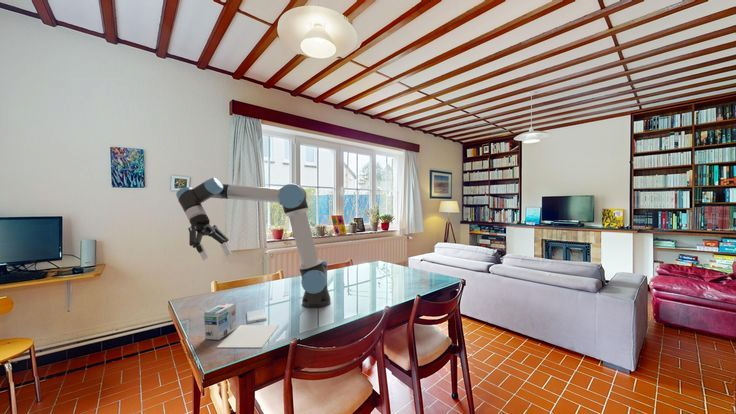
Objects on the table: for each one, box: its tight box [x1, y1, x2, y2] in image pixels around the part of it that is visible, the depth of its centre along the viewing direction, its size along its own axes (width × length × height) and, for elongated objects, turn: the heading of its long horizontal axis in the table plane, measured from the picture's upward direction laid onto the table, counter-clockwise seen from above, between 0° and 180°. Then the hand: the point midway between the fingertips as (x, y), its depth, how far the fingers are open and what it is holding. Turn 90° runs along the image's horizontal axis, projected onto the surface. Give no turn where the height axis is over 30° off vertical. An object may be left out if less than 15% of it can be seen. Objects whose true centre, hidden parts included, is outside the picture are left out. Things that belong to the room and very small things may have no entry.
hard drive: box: [246, 308, 267, 324], centre depth 132 cm, size 2×8×12 cm
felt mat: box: [216, 324, 280, 349], centre depth 112 cm, size 17×19×1 cm
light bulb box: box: [203, 302, 237, 341], centre depth 114 cm, size 11×7×11 cm, turn 169°
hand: (218, 256), depth 124 cm, fingers open, 13 cm apart
